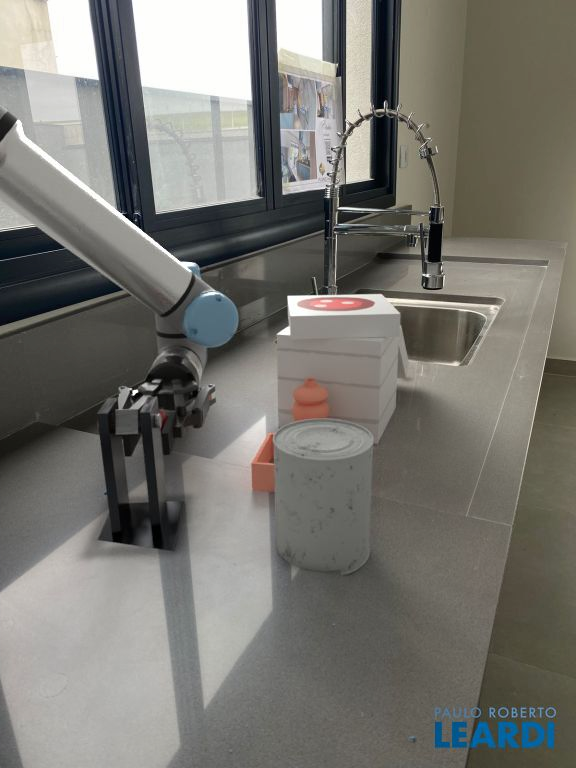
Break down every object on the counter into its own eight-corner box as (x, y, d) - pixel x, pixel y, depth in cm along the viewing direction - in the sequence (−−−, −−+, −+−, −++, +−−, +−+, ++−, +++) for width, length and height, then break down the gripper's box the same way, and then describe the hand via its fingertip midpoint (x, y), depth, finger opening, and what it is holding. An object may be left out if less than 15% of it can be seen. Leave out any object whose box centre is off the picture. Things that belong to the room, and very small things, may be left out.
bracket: (114, 512, 68) (99, 389, 64) (185, 509, 69) (175, 386, 64) (91, 565, 59) (71, 425, 54) (173, 562, 59) (161, 423, 54)
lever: (142, 438, 74) (142, 409, 74) (171, 437, 74) (171, 408, 75) (108, 441, 58) (107, 403, 58) (145, 439, 58) (145, 402, 58)
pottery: (332, 502, 70) (332, 423, 67) (252, 495, 72) (249, 418, 68) (347, 439, 86) (348, 374, 83) (282, 435, 88) (281, 371, 85)
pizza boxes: (418, 384, 109) (424, 284, 103) (388, 452, 82) (394, 322, 76) (316, 374, 115) (316, 279, 109) (257, 435, 88) (254, 313, 82)
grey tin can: (264, 532, 64) (261, 425, 60) (347, 516, 67) (350, 413, 63) (291, 587, 55) (290, 466, 51) (386, 567, 58) (391, 450, 54)
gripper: (231, 401, 91) (222, 472, 69) (120, 404, 90) (74, 477, 68) (229, 353, 89) (219, 411, 66) (114, 356, 88) (66, 415, 66)
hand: (146, 444), depth 67 cm, fingers closed on lever, 4 cm apart
